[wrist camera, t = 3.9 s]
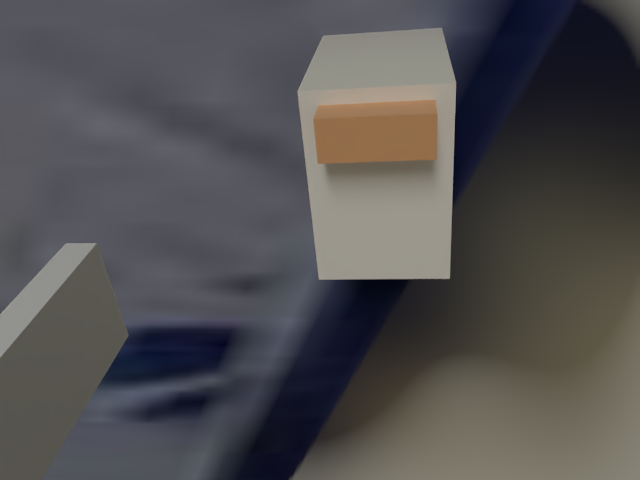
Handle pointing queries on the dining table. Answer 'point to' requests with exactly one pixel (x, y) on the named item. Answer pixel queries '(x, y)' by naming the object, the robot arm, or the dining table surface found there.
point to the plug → (380, 154)
